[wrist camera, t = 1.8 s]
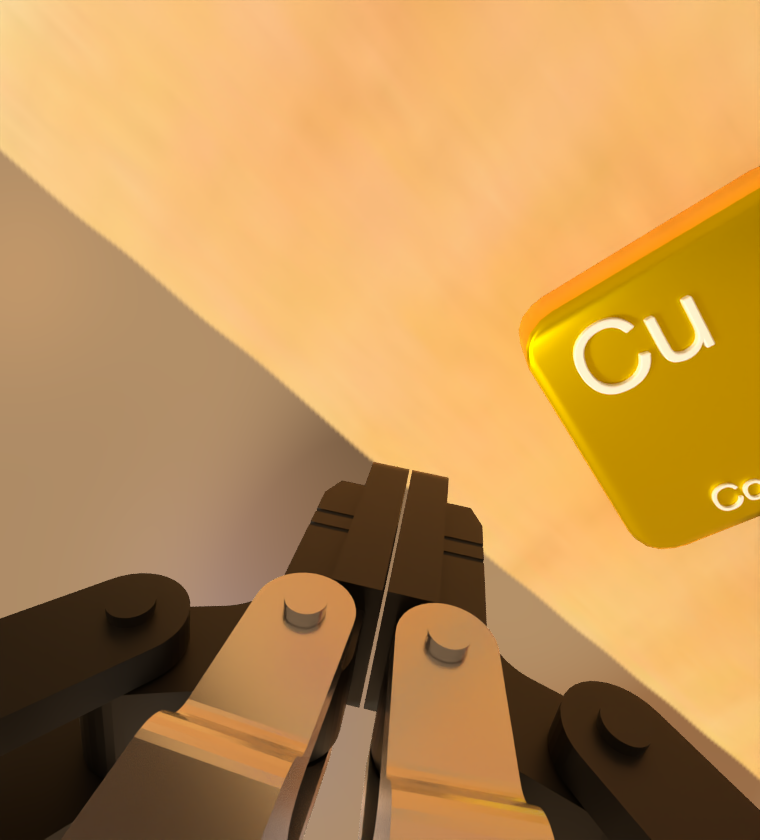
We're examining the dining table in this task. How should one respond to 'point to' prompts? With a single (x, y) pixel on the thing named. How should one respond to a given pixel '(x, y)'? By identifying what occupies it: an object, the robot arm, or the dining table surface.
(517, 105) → the dining table surface
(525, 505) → the dining table surface
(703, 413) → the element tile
